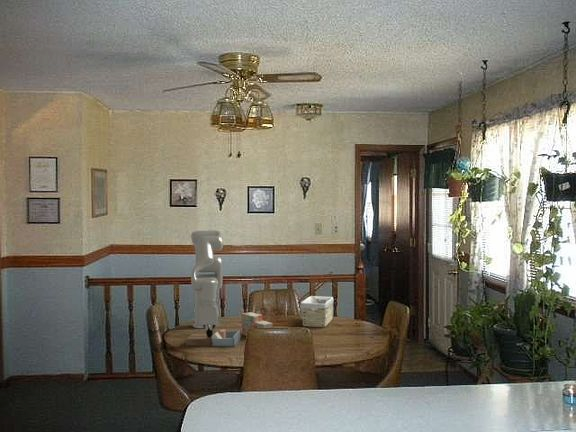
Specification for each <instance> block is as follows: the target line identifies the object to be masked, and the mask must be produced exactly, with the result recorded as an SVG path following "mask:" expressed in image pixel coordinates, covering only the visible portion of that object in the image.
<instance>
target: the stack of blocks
mask: <svg viewBox="0 0 576 432" xmlns="http://www.w3.org/2000/svg"><path fill="white" fill-rule="evenodd" d="M273 324H274V323H273V322H270V321H267V320H264V315H263V314H261V313H255V312H251V311H249V312H244V313H243V312H242V313H241V325H242V326H241V335H243V336H246V333H247V331H248V330H249V329H252V328H271V327H273V326H274V325H273ZM273 328H274V327H273Z"/></svg>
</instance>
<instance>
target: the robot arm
mask: <svg viewBox="0 0 576 432" xmlns="http://www.w3.org/2000/svg"><path fill="white" fill-rule="evenodd" d="M190 238H191V243H192V245H193V248H194V252H195V253H194V254H195V265H194V266H193V268H192V271H191V272H190V273H191V274H190V276H191V277H190V279H191V283H190V284H191V290H192V291H193V292H194V302H195V303H194V304H195V305H194V306H195V307H194V310H195V313H194V314H195V320H194V321H195V323H193V324H192V327H193V328H194V329H195V328H196V329H205V330H206V332H205V333H206V335H207V338H211V337H212V336H213V333H214V332H213V331H214V329H215V328H216V327H220V313H219V307H218V304H217V290H220V289H222V288H223V279H224V278H223V260H222V257H220V256H217V255H216V256H215V255H214V251H216V252H217V251H222V250H223V247H224V238H223V236H222V233H221V231H220V230H196V231H192V232H191V234H190ZM198 273H200V274H198Z"/></svg>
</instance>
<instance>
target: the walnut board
mask: <svg viewBox="0 0 576 432" xmlns="http://www.w3.org/2000/svg"><path fill="white" fill-rule="evenodd" d="M215 333H216V332H213V335H214V334H215ZM184 342H185V346H201V347H202V346H207V347H213V346H212V337H211V338H207V335H206V332H192V333H191V334H190V335H189V336H188V337H187V338H185V341H184Z"/></svg>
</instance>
